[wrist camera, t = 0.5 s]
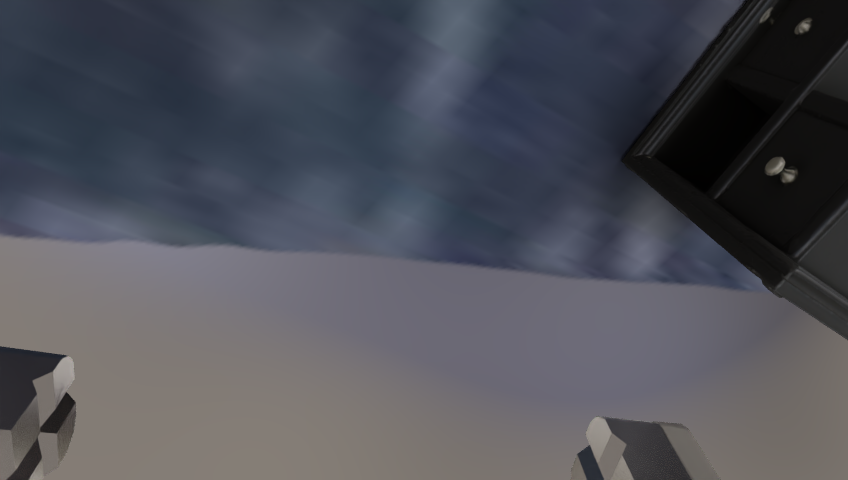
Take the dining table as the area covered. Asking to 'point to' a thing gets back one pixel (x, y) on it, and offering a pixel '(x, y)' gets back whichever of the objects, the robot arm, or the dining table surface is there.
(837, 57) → the black drawer cabinet
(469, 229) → the dining table surface
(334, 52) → the dining table surface
